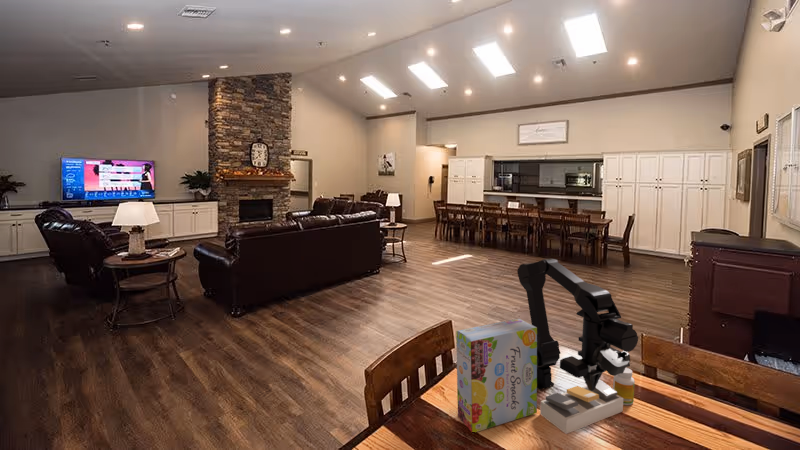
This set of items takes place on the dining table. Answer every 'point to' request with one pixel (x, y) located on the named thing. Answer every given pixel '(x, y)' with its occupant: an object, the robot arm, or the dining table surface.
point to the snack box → (496, 373)
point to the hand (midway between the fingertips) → (591, 390)
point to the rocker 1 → (562, 401)
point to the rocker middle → (583, 394)
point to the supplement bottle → (625, 386)
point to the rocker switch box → (581, 411)
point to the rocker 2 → (605, 389)
